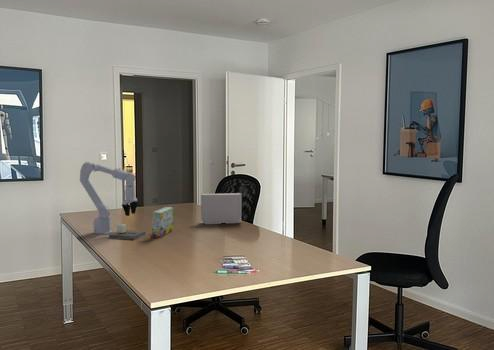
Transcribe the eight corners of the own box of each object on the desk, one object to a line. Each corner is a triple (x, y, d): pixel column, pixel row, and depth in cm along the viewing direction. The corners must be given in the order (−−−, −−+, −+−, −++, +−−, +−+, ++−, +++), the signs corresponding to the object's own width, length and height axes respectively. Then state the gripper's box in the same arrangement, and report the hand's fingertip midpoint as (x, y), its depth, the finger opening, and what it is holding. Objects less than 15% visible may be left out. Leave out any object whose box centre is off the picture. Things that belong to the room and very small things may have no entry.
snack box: (160, 238, 273) (160, 212, 271) (151, 237, 274) (151, 212, 272) (173, 230, 293) (173, 206, 292) (165, 230, 294) (164, 206, 293)
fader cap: (116, 232, 275) (116, 224, 275) (120, 231, 279) (119, 223, 278) (122, 232, 274) (122, 225, 274) (126, 231, 278) (126, 223, 278)
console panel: (109, 238, 271) (109, 234, 271) (121, 233, 284) (121, 229, 284) (134, 239, 267) (134, 236, 267) (145, 234, 281) (145, 231, 280)
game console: (241, 223, 320) (242, 194, 318) (202, 224, 313) (202, 195, 311) (240, 221, 325) (240, 193, 324) (200, 222, 319) (201, 193, 317)
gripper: (130, 194, 279) (130, 217, 281) (141, 191, 293) (141, 212, 295) (119, 194, 281) (120, 216, 282) (131, 191, 295) (131, 212, 296)
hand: (130, 214), depth 289 cm, fingers open, 7 cm apart
